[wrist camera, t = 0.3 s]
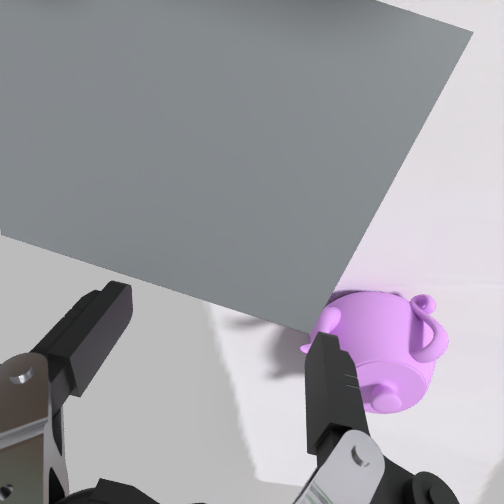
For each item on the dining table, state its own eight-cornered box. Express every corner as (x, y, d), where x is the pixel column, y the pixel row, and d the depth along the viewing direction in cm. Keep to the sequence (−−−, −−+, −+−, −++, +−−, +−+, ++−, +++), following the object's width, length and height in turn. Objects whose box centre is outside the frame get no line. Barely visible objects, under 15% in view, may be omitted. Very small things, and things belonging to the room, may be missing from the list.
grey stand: (223, 48, 31) (-77, -146, 6) (336, 85, 31) (473, 32, 6) (206, 142, 36) (1, 234, 11) (303, 173, 36) (309, 334, 11)
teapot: (351, 229, 38) (374, 289, 26) (462, 312, 42) (528, 399, 30) (259, 321, 49) (245, 394, 37) (354, 382, 52) (370, 467, 40)
